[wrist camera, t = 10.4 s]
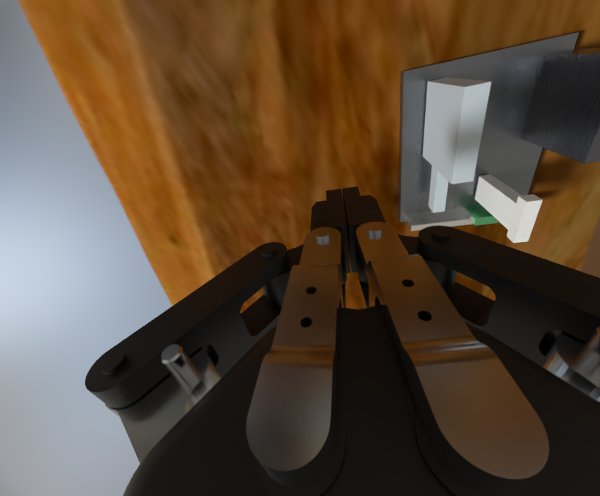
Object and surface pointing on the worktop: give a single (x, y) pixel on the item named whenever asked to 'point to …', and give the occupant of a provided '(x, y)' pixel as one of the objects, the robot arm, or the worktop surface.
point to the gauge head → (453, 133)
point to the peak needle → (508, 207)
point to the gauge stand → (503, 123)
